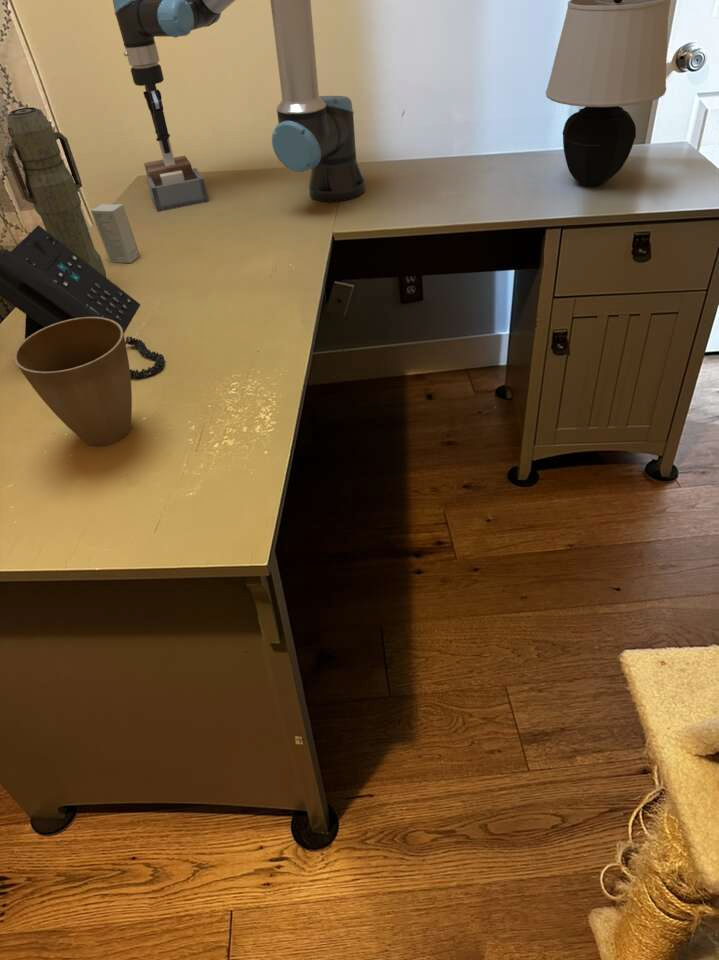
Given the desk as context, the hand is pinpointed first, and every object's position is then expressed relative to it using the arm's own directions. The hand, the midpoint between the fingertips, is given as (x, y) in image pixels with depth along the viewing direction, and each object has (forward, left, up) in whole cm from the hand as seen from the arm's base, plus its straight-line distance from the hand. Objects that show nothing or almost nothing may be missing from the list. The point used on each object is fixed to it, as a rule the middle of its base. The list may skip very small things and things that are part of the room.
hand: (169, 164), depth 181 cm
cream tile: (-1, +1, -5) cm, 5 cm away
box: (-4, 0, -9) cm, 9 cm away
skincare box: (-38, +19, -9) cm, 43 cm away
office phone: (-77, +27, -9) cm, 82 cm away
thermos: (-51, +28, -9) cm, 59 cm away
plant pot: (-108, +29, -9) cm, 112 cm away
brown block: (+8, 0, -9) cm, 12 cm away
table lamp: (-55, -98, -9) cm, 113 cm away
